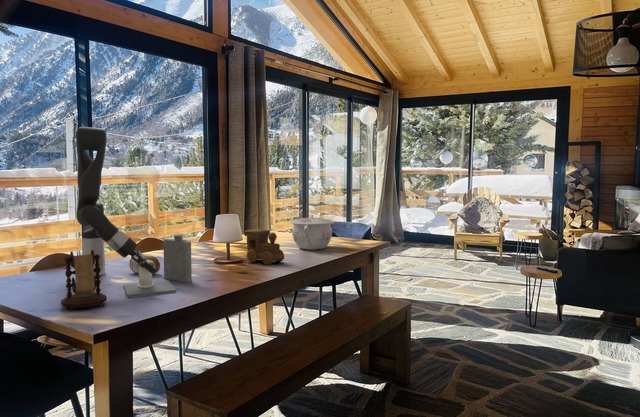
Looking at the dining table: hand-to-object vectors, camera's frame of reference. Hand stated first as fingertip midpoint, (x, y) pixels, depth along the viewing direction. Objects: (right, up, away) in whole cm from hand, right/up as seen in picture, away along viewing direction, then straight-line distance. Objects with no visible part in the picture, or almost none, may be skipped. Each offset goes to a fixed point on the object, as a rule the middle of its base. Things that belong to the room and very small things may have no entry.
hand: (152, 269), depth 200 cm
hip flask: (+6, -7, +16) cm, 18 cm away
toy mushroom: (-3, -7, -1) cm, 7 cm away
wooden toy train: (+40, -4, +56) cm, 69 cm away
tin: (-13, -6, +28) cm, 31 cm away
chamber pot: (+64, 0, +100) cm, 118 cm away
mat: (-1, -8, -2) cm, 8 cm away
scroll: (-16, -10, -25) cm, 31 cm away
